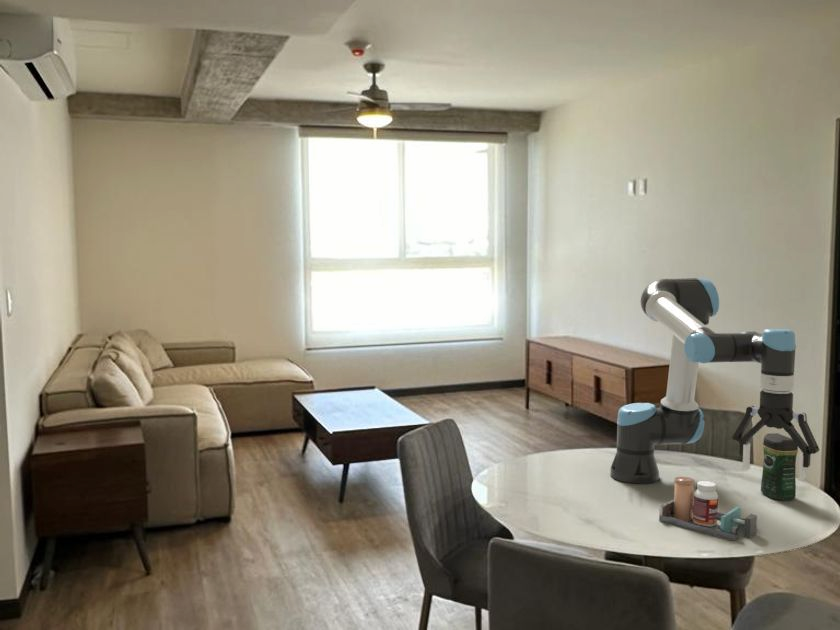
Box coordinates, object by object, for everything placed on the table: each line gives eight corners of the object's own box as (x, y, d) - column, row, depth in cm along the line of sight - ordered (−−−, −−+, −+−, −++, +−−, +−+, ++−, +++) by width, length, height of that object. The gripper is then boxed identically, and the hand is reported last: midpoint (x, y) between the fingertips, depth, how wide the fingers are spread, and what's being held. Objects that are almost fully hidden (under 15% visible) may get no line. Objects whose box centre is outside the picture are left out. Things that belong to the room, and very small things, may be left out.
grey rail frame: (659, 520, 212) (659, 506, 212) (681, 508, 222) (682, 494, 221) (733, 541, 198) (734, 525, 198) (754, 526, 208) (755, 512, 207)
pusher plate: (720, 535, 202) (721, 516, 201) (737, 524, 210) (737, 506, 209) (744, 541, 198) (745, 522, 197) (761, 530, 205) (761, 511, 205)
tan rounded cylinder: (669, 517, 214) (671, 479, 213) (678, 512, 218) (679, 475, 217) (687, 522, 211) (689, 483, 210) (696, 517, 215) (697, 479, 214)
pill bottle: (712, 529, 206) (713, 488, 205) (688, 523, 210) (690, 483, 209) (720, 522, 211) (722, 483, 210) (697, 517, 215) (699, 478, 214)
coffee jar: (800, 500, 229) (803, 438, 227) (776, 502, 227) (779, 440, 225) (779, 490, 238) (782, 430, 236) (755, 491, 237) (758, 431, 235)
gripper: (721, 386, 200) (718, 467, 202) (825, 399, 183) (821, 487, 185) (732, 382, 206) (729, 461, 208) (835, 395, 189) (831, 480, 190)
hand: (773, 474), depth 196 cm, fingers open, 13 cm apart
